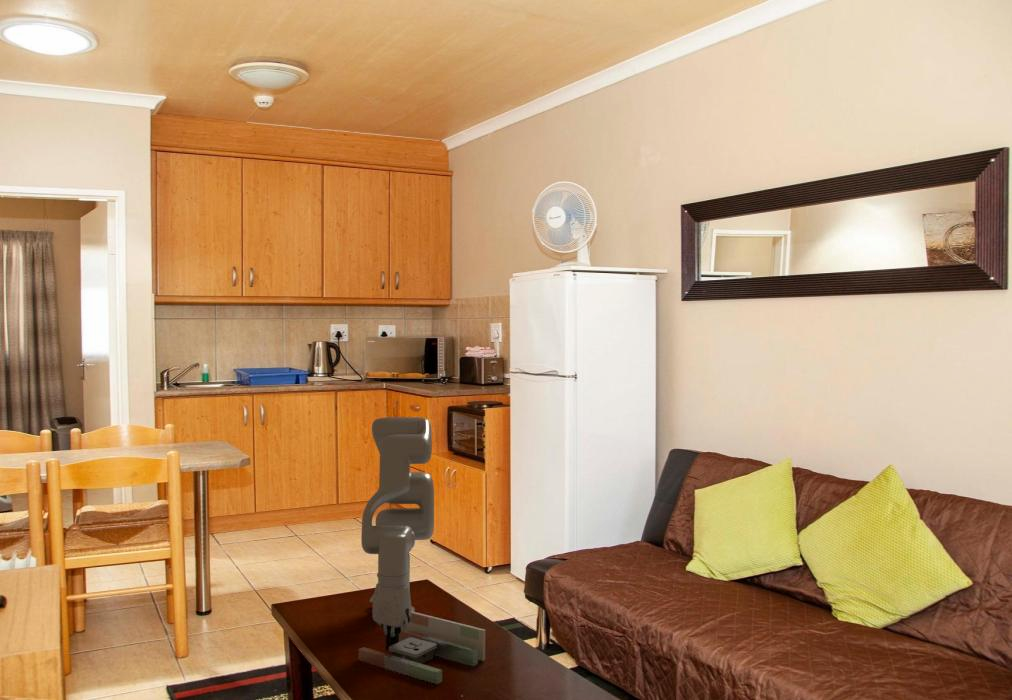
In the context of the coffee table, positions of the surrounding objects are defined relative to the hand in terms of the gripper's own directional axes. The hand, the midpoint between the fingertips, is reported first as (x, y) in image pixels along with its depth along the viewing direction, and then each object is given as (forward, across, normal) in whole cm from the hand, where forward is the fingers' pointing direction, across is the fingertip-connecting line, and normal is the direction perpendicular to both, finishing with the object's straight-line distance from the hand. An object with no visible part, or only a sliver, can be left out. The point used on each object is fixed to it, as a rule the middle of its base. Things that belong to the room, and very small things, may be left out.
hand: (392, 649), depth 227 cm
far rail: (+2, +9, +7) cm, 12 cm away
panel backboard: (+2, +9, +11) cm, 14 cm away
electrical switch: (0, +11, +1) cm, 11 cm away
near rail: (+2, +9, -7) cm, 11 cm away
